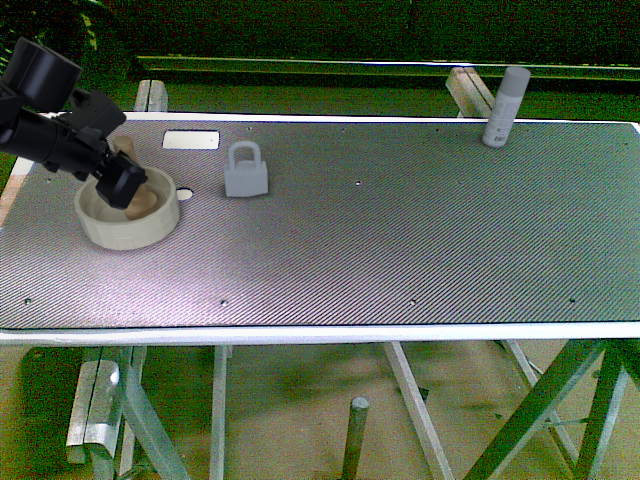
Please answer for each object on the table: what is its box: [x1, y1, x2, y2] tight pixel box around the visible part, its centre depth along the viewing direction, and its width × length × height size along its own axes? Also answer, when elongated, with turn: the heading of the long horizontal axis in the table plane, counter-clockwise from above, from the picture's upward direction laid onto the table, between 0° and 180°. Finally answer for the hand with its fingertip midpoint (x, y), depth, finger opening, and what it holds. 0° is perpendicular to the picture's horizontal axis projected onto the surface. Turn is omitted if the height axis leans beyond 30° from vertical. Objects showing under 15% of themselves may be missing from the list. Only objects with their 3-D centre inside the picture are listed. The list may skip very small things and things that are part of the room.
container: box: [481, 65, 532, 149], centre depth 93 cm, size 5×5×15 cm
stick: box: [112, 135, 159, 221], centre depth 71 cm, size 5×5×13 cm
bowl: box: [73, 164, 181, 251], centre depth 74 cm, size 14×14×6 cm
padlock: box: [222, 139, 269, 198], centre depth 79 cm, size 7×4×10 cm, turn 102°
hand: (141, 175), depth 72 cm, fingers closed on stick, 2 cm apart
